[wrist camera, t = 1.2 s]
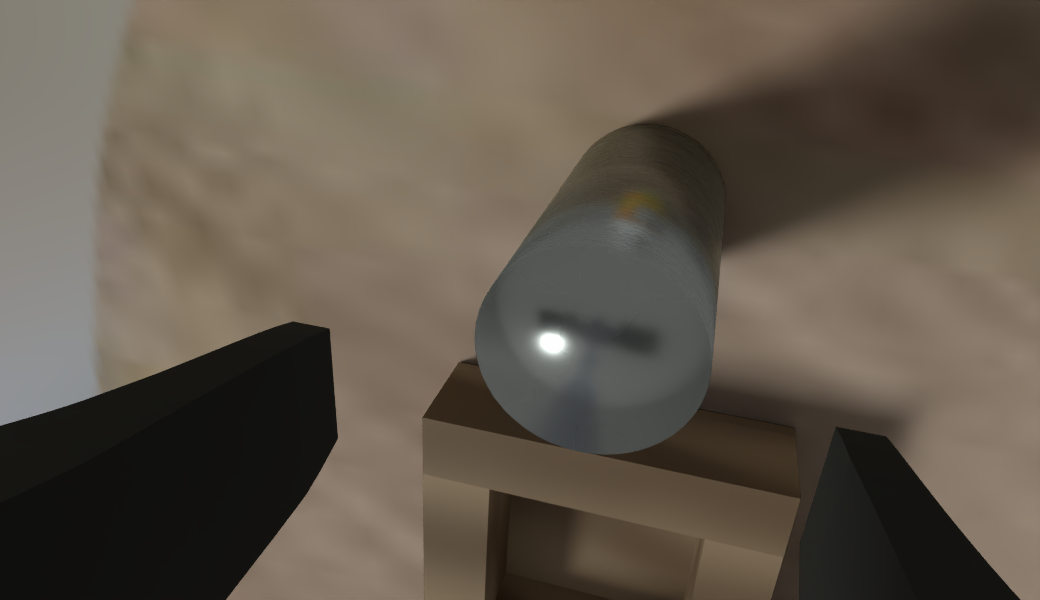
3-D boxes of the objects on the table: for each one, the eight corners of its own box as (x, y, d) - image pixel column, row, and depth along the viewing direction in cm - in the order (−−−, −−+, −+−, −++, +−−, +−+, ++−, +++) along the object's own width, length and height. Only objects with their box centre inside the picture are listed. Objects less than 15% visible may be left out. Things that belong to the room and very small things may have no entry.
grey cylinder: (710, 283, 20) (690, 475, 13) (564, 259, 21) (471, 429, 14) (739, 134, 18) (733, 267, 11) (576, 115, 19) (478, 228, 12)
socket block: (729, 662, 26) (727, 745, 23) (454, 589, 28) (424, 658, 25) (794, 428, 21) (801, 498, 19) (458, 362, 23) (422, 417, 21)
